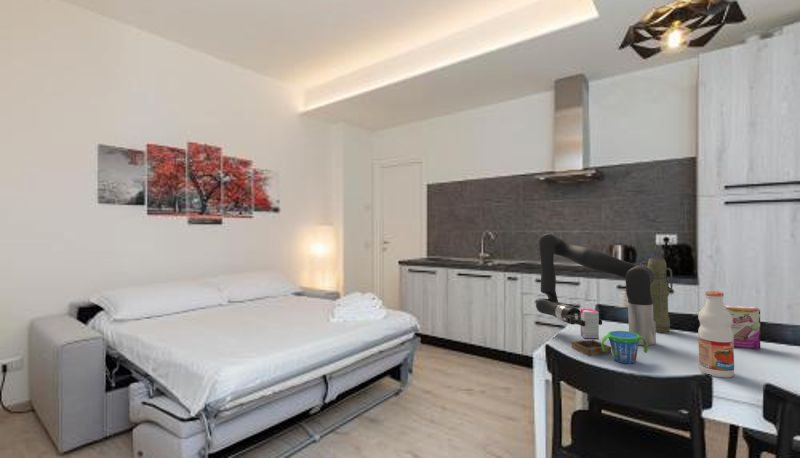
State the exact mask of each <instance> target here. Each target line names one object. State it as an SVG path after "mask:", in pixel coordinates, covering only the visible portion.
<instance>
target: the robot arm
mask: <svg viewBox="0 0 800 458" xmlns="http://www.w3.org/2000/svg"><path fill="white" fill-rule="evenodd" d="M538 247H539V256H540V292H541V294H544V295H546V296H547V298H543V297H542V298H539V299H538V300H536V302H535V308H536V310H537V311H538V312H539V313H541V314H544V315H548V316H552V317H555V318H557V319H558V320H561V321H563V322H564V323H567V324H570V325H578V326H580V327H581V326H585V321H583V320H581V309H580V308H577V307H574V306H573V305H569V304H564V303H561V302H559V300H558V296H557V295H558V294H557V291H556V288H557V287H556V285H557V284H556V283H557V278H556V277H557V276H556V271H555V264H554V263H555V261H554V256H555V255H556V256H560V257H564V258H566V259H569V260H570V261H573V262H574V263H576V264H578V265H580V266H582V267H585V268H587V269H590V270H592V271H596V272H600V273H605V274H610V275H615V276H618V277H621V278H623V279H625V291H626V292H625V293H626V294H625V295H626V297H627V308H628V309H627V310H628V313H627V316H628V332H633V333H636V334H638V335H639V336H641V337H642V338H644V339H645V341H646V343H647V346H653V345H655V344H657V332H656V322H655V321H653V298H652V296H651V289H650V284H651V283H652V282H653V281H654V274H653V272H652V271H651V270H650V269H649V268H647V267H648V266H645V265H641V264H636V263H633V262H632V263H631V262H628V261H625V260H622V259H619V258H617V257H615V256H613V255H610V254H607V253H605V252H602V251H599V250H596V249H595V248H594V249H593V248H591V247H586V246H583V245H576V244H574V243H573V244H572V243H570V242H568V241H565V240H564V239H561V238H560V237H558V236H556V235H554V234H552V233H545V234H544V233H543V234H542V235H541V236H540V237H539V240H538ZM601 325H603V319H600V318H599V326H601ZM638 346H644V342H643V340H642V339H640V340H639V343H638Z"/></svg>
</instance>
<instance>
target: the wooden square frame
mask: <svg viewBox="0 0 800 458" xmlns="http://www.w3.org/2000/svg"><path fill="white" fill-rule="evenodd" d="M601 343H602V342H600V341H598V340H593V339H584V340H575V341H571V343H570V345H571V349H573V350H576V351H577V352H579V353H582V354H583V355H586V356H588V357H589V356H597V355H606V354H607V355H608V354H612V349H611V345H610V346H609V345H607V344H605V343H604V350H605V352H604V351H603V350H602V347H601Z"/></svg>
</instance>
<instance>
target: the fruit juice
mask: <svg viewBox="0 0 800 458" xmlns="http://www.w3.org/2000/svg"><path fill="white" fill-rule="evenodd" d="M704 295H705V298H706V299H705V302H704V303H705V304H704V305H703V308H701V310H700V311H699V312H698V317H697V318H698V321H699V324H700V325H699V327H698V330H697V331H698V332H697V337H698V338H697V340H698V367H699V371H700V372H701V373H703V374H705V373H707V374H711V375H712V376H711V375H710V376H711V377H714V378H715V377H717V378H723V379H725V378H727V379H728V378H732V377H734V376H735V347H734V339H733V332H732V330H731V324H732V316H731V314H730V313H729V312H728V311H727V310H726V308H725V306H724V305H725V304H724V301H723V298H724V297H725V296H724V295H725V294H724V292H722V291H714V290H713V291H712V290H708V291H705V294H704ZM707 374H706V375H707Z"/></svg>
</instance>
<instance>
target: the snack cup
mask: <svg viewBox="0 0 800 458" xmlns="http://www.w3.org/2000/svg"><path fill="white" fill-rule="evenodd" d="M607 339H608V340H609V343H610V347H611V354H612V357H613V360H614V361H616V362H619V363H621V364H634V363H636V361H637V357H638V352H639V351H638V349H639V345H638V343H639V340H640V339H642V340H643V342H644V345H643V353H646V354H647V352H648V350H649V349H648V345H647V343H646V341H645V339H644V338H642V337H641V336H639V335H638V334H636V333H633V332H629V331H627V330H625V331H624V330H612V331H609V332H608V333H607V334H606V335H604V336H603V338H602V340H601V342H600V343H601V347H602V350H603V351H604V352H605V350H604V344H605V341H606V340H607Z"/></svg>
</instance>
